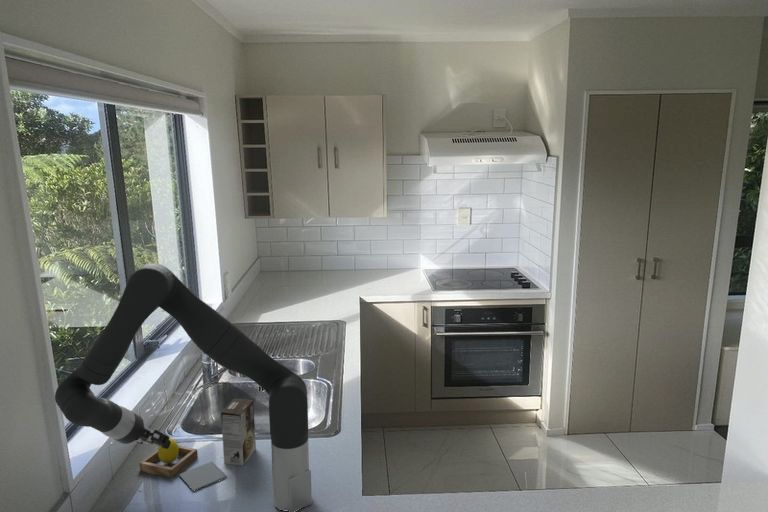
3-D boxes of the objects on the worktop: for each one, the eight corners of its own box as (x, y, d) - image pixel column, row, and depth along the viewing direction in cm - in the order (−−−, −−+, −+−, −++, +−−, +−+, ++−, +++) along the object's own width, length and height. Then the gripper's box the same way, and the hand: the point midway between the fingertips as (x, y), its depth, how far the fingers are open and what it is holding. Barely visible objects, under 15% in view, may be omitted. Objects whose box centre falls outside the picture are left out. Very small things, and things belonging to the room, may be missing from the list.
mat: (227, 477, 148) (227, 475, 148) (193, 491, 142) (193, 490, 142) (212, 462, 155) (211, 461, 155) (178, 475, 149) (178, 474, 149)
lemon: (161, 471, 151) (159, 445, 149) (157, 462, 155) (154, 437, 154) (182, 465, 154) (180, 439, 152) (176, 456, 158) (174, 431, 157)
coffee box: (236, 447, 163) (233, 397, 160) (256, 449, 162) (254, 399, 159) (223, 464, 154) (219, 411, 151) (244, 466, 153) (241, 413, 150)
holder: (197, 456, 158) (197, 449, 158) (172, 478, 148) (171, 469, 147) (166, 450, 161) (166, 443, 161) (139, 470, 151) (139, 462, 151)
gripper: (150, 413, 135) (183, 433, 148) (105, 405, 140) (140, 425, 153) (136, 443, 131) (171, 461, 144) (90, 434, 136) (128, 452, 149)
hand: (155, 442), depth 148 cm, fingers open, 8 cm apart
